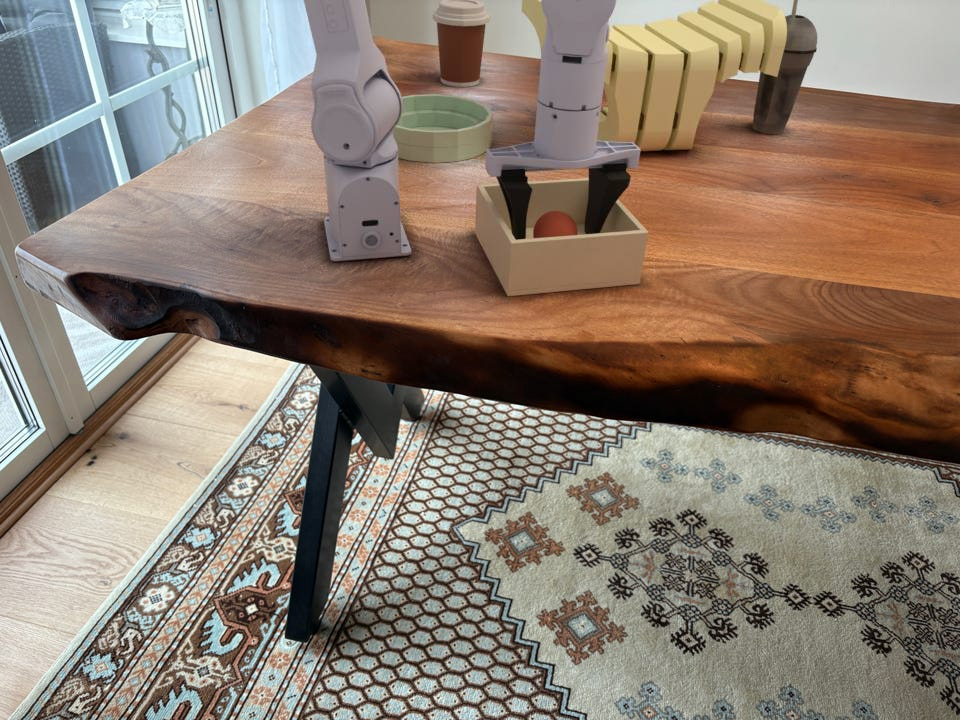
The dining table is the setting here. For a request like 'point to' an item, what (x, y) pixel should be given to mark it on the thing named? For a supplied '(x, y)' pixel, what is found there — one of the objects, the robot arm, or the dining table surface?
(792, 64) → the beverage cup
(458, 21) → the coffee cup
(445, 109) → the bowl
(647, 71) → the slatted curved stool
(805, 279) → the dining table surface
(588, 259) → the bin
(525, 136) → the dining table surface
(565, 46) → the robot arm
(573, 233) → the toy ball
